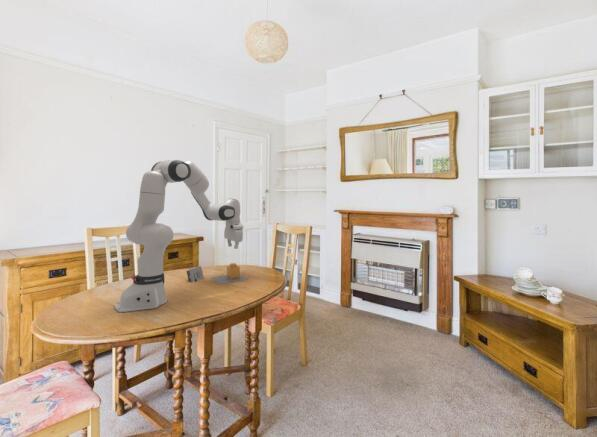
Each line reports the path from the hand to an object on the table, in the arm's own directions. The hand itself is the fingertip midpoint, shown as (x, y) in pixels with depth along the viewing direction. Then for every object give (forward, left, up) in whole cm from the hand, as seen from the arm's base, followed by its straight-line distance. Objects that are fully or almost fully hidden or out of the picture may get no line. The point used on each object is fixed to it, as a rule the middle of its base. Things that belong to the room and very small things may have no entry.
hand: (232, 247), depth 195 cm
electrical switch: (-22, +5, -20) cm, 30 cm away
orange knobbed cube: (0, 0, -18) cm, 18 cm away
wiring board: (-4, -3, -20) cm, 20 cm away
